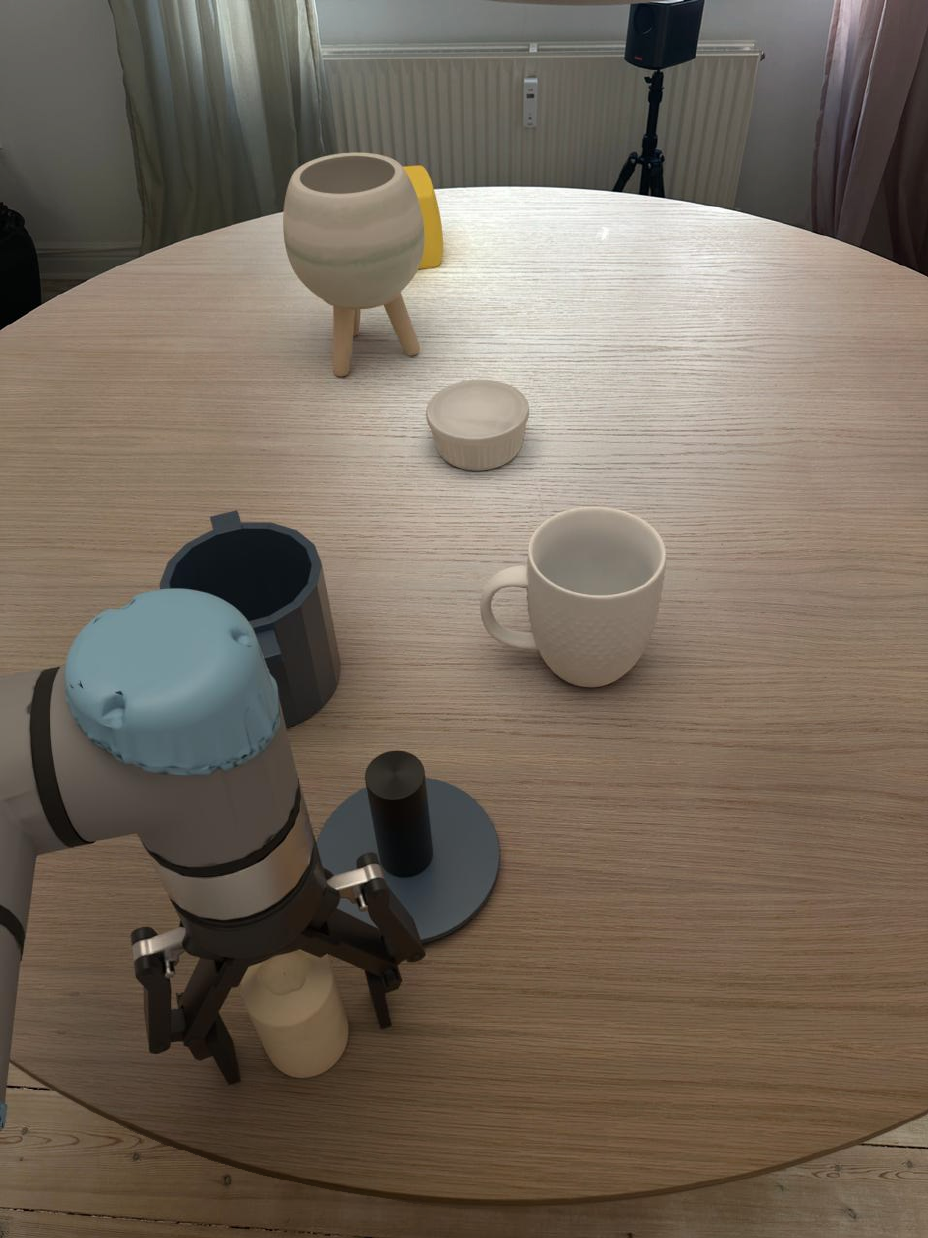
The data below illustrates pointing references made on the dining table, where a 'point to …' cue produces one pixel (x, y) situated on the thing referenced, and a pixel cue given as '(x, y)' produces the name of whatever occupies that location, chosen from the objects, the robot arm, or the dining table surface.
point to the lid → (415, 844)
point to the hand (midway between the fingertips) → (307, 1034)
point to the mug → (586, 593)
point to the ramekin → (478, 423)
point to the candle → (297, 1012)
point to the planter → (355, 241)
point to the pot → (269, 602)
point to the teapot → (428, 216)
